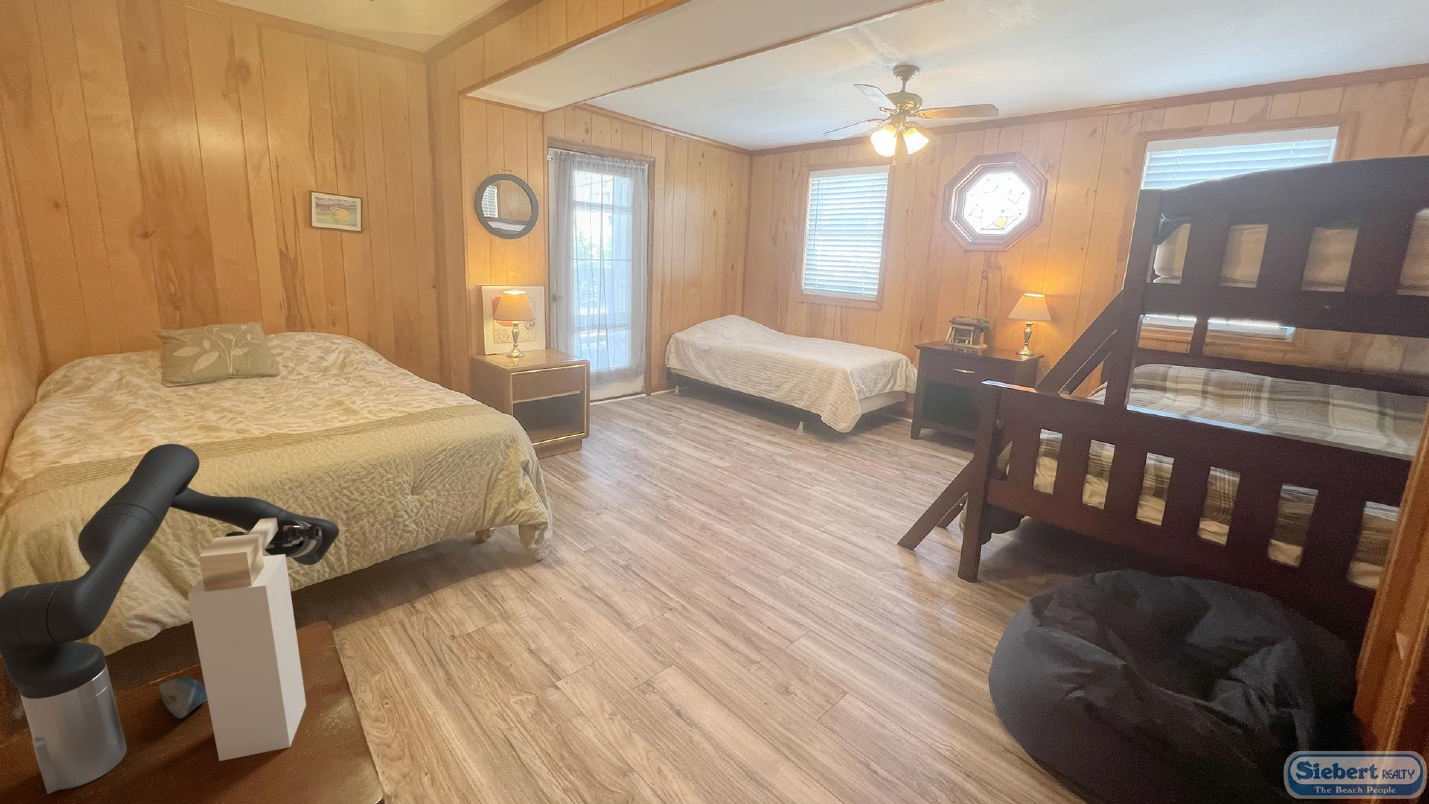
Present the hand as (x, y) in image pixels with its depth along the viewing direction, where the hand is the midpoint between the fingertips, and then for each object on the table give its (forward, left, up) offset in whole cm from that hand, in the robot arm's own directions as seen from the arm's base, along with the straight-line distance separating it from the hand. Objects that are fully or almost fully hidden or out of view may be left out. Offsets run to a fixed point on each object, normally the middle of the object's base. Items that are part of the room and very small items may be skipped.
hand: (262, 535), depth 106 cm
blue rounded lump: (-14, +8, -33) cm, 37 cm away
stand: (-6, -10, -33) cm, 35 cm away
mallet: (-3, -5, -1) cm, 6 cm away
